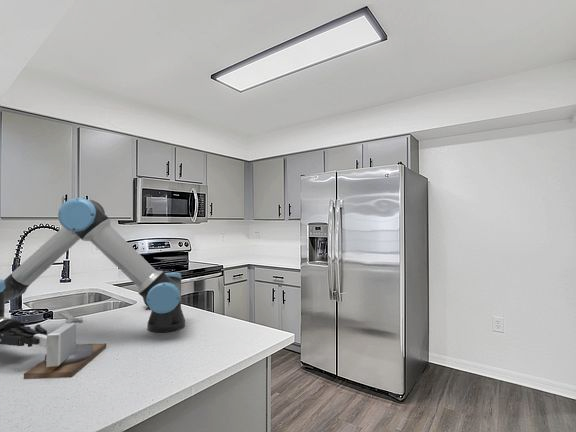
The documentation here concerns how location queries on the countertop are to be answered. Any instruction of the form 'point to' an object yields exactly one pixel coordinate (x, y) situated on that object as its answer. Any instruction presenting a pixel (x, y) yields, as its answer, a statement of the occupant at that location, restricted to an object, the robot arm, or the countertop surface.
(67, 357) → the grey panel and disc
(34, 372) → the dial board
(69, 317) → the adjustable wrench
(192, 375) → the countertop surface
